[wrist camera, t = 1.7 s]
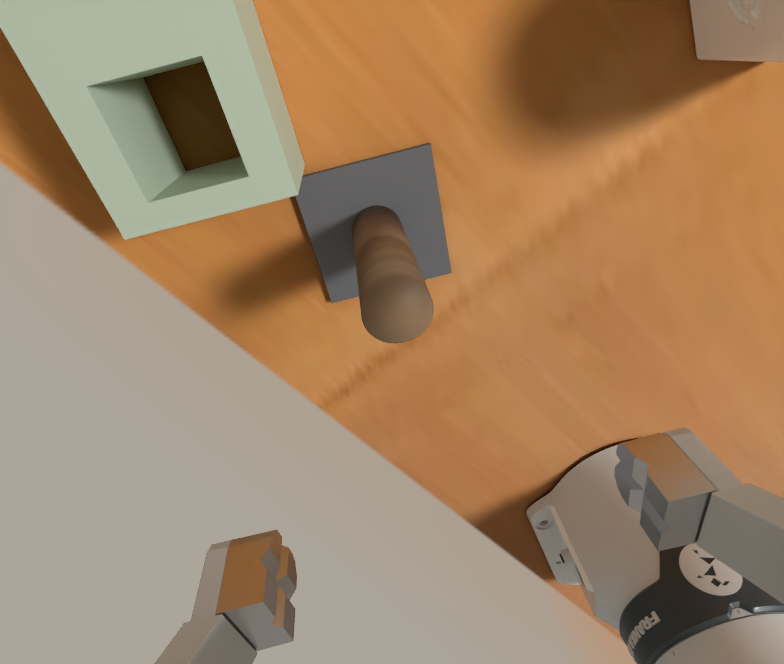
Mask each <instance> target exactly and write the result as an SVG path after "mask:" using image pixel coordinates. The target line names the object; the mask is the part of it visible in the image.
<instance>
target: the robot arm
mask: <svg viewBox="0 0 784 664" xmlns="http://www.w3.org/2000/svg"><path fill="white" fill-rule="evenodd" d="M526 514H527V517H528V519H529V521H530V523H531V526H532V528H533V530H534V532H535V535H536V537H537V539H538V541H539V544H540V546H541V548H542V550H543V552H544V555H545V557H546V559H547V561H548V564H549V566H550V568H551V570H552V572H553V574H554V576H555V578H556V580H557V582H558V583H560V584H566V585H580V586H581V588H582V590H583V592H584V594H585V596H586V599H587V601H588V603H589V605H590V607H591V609H592V611H593V613H594V615H595V616H596V617H597V618H599V619H600V620H602V621H604V622H606V623H608V624H610V625H612V626H613V627H615V628H617V629H618V630H620V635H621V637H622V639H623V640H624V642H625V644H626V645H627V647H628V650H629V652H630V654H631V656H632V657H633V659H634V661H635V662H636V663H637V664H784V498H782V497H779V496H777V495H775V494H773V493H771V492H768V491H766V490H764V489H762V488H760V487H757V486H755V485H753V484H751V483H750V484H744V485H743V484H742V483H741V482H740V481H739V480H738V479H737V478H736V477H735V476H734V474H733V473H732V472H731V471H730V470H729V469H728V468H727V467H726V466H725V465H724V464H723V463H722V462H721V461H720V460H719V459H718V458H717V457H716V456H715V455H714V454H713V453H712V452H711V451H710V450H709V449H708V448H707V447H706V446H705V445H704V443H703V442H702V441H701V440H700V439H699V438H698V437H697V436H696V435H695V434H694V433H693V432H692V431H691V430H689V429H687V428H679V429H675V430H671V431H668V432H664V433H657V434H653V435H650V436H646V437H642V438H638V439H635V440H631V441H627V442H623V443H620V444H619V445H615V446H613V447H610V448H607V449H605V450H602V451H600V452H598V453H596V454H594V455H592V456H590V457H589V458H587V459H585V460H584V461H582V462H581V463H579V464H578V465H577V466H575V467H574V468H573V469H572V470H570V471H569V472H568V473H567V474H566V475H565V476H564V477H563V478H562V479H561V480H560V482H559V483H558V484H557V485H556V486H555V488H554V489H553V490H552V491H551V492H550V493H549V494H547V495H546V496H544V497H543V498H541V499H540V500H538V501H537V502H535V503H534V504H532V505H531V506H530V507H529V508H528V509H527V512H526ZM296 582H297V574H296V566H295V560H294V557H293V554H292V553H291V551H290V549H289V548H288V547H285V546H283V545H282V536H281V535H280V533H279V532H278V531H277V530H273V531H269V532H264V533H260V534H256V535H252V536H247V537H243V538H239V539H233V540H229V541H225V542H222V543H218V544H213V545H211V547H210V549H209V551H208V552H207V555H206V559H205V563H204V567H203V572H202V576H201V580H200V584H199V588H198V593H197V597H196V601H195V605H194V610H193V614H192V618H191V621H190V622H186V623H184V624H183V626H182V627H181V628H180V630H179V631H178V632H177V634H176V635H175V637H174V638H173V639H172V641H171V642H170V644H169V645H168V646H167V647H166V649H165V650H164V652H163V653H162V654H161V656H160V657H159V658H158V660H157V661H156V663H155V664H252V663H253V661H254V659H255V657H256V655H257V652H256V651H258V650H262V649H265V648H269V647H273V646H277V645H280V644H284V643H287V642H291V641H293V637H294V621H295V608H294V607H293V605H292V604H291V602H290V601H289V600H290V598H291V597H292V595H293V593H294V591H295V590H296Z"/></svg>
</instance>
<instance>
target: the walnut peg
mask: <svg viewBox="0 0 784 664" xmlns="http://www.w3.org/2000/svg"><path fill="white" fill-rule="evenodd" d="M352 237H353V245H354V254H355V263H356V272H357V281H358V289H359V298H360V307H361V316H362V321H363V324H364V326H365V328H366V330H367V331H368V332H369V333H370V334H371V335H372V336H373V337H375V338H376V339H378V340H381V341H383V342H387V343H403V342H407V341H410V340H412V339H414V338H416V337H418V336H419V335H421V334H422V333H423V332H424V331H425V330H426V329H427V328H428V326H429V324H430V323H431V321H432V318H433V313H434V306H433V301H432V298H431V296H430V293H429V291H428V288H427V286H426V283H425V281H424V278H423V276H422V273H421V271H420V269H419V266H418V264H417V261H416V259H415V256H414V254H413V251H412V249H411V246H410V244H409V241H408V239H407V236H406V234H405V231H404V229H403V226H402V224H401V221H400V219H399V217H398V216H397V214H396V213H395V212H394V211H393V210H391V209H390V208H388V207H385V206H380V205H375V206H370V207H367V208H365V209H363V210H362V211H361V212H360V213H359V214H358V215H357V216H356V218H355V219H354V222H353V225H352Z"/></svg>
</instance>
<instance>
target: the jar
mask: <svg viewBox="0 0 784 664" xmlns="http://www.w3.org/2000/svg"><path fill="white" fill-rule="evenodd" d="M689 1H690V9H691V16H692V24H693V31H694V39H695V47H696V55H697V58H698V59H700V60H719V61H752V62H784V0H689Z"/></svg>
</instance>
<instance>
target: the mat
mask: <svg viewBox="0 0 784 664" xmlns="http://www.w3.org/2000/svg"><path fill="white" fill-rule="evenodd" d="M295 197H296V200H297V203H298V206H299V208H300V211H301V214H302V217H303V220H304V223H305V226H306V229H307V232H308V235H309V238H310V241H311V244H312V247H313V250H314V252H315V255H316V258H317V261H318V264H319V267H320V270H321V273H322V276H323V279H324V282H325V285H326V288H327V291H328V294H329V296H330V299H331V302H332V303H334V302H338V301H342V300H346V299H350V298H354V297H358V296H359V289H358V281H357V272H356V263H355V254H354V245H353V237H352V225H353V222H354V219H355V218H356V216H357V215H358V214H359V213H360V212H361V211H362V210H363V209H365V208H367V207H370V206H375V205H380V206H385V207H388V208H390V209H391V210H393V211H394V212H395V213H396V214H397V216H398V217H399V219H400V221H401V224H402V226H403V229H404V231H405V234H406V236H407V239H408V241H409V244H410V246H411V249H412V251H413V254H414V256H415V259H416V261H417V264H418V266H419V269H420V271H421V273H422V276H423V278H424V280H425V279H429V278H433V277H437V276H441V275H445V274H449V273H451V267H450V261H449V255H448V249H447V242H446V236H445V230H444V224H443V218H442V212H441V205H440V199H439V193H438V187H437V181H436V175H435V168H434V162H433V156H432V150H431V144H430V143H427V144H423V145H419V146H415V147H411V148H407V149H403V150H400V151H396V152H392V153H388V154H384V155H380V156H376V157H373V158H369V159H365V160H361V161H357V162H353V163H350V164H346V165H342V166H338V167H334V168H330V169H326V170H323V171H319V172H315V173H311V174H307V175H303V176H302V180H301V185H300V189H299V194H298V195H296V196H295Z"/></svg>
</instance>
